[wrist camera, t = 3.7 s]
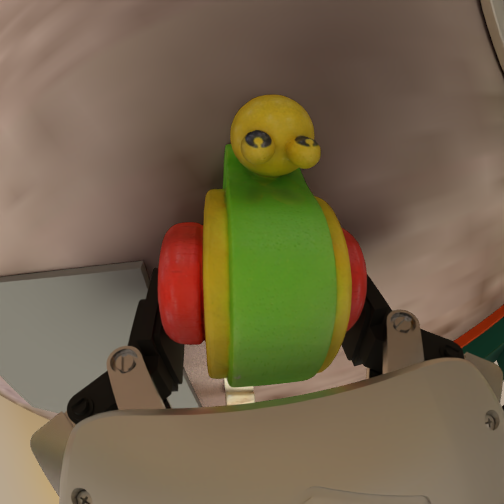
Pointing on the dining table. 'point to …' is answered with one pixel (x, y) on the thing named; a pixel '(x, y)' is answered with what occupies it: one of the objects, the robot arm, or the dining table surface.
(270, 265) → the toy measuring tape
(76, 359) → the mat
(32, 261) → the dining table surface
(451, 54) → the dining table surface
